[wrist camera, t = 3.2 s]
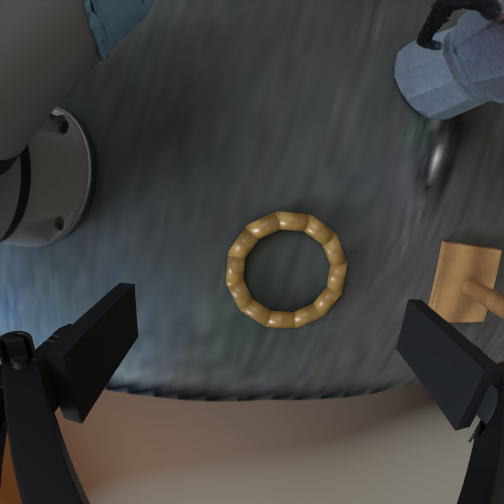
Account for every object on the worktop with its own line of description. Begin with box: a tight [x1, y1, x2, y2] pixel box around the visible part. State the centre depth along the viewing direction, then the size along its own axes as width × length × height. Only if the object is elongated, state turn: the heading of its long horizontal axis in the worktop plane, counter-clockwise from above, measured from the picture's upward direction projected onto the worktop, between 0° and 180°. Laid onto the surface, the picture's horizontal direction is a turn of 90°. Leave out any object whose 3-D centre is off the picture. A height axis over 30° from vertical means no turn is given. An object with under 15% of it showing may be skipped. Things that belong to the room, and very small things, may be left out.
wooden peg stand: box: [428, 241, 504, 323], centre depth 26 cm, size 9×9×10 cm
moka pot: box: [394, 0, 504, 120], centre depth 16 cm, size 10×15×20 cm, turn 97°
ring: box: [226, 211, 347, 328], centre depth 30 cm, size 11×11×2 cm
